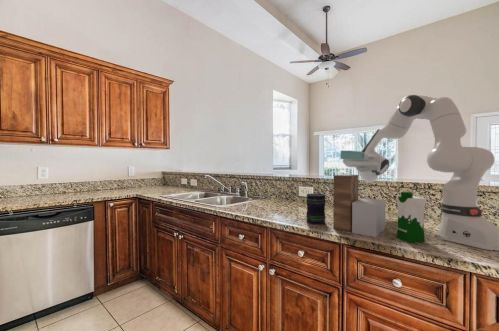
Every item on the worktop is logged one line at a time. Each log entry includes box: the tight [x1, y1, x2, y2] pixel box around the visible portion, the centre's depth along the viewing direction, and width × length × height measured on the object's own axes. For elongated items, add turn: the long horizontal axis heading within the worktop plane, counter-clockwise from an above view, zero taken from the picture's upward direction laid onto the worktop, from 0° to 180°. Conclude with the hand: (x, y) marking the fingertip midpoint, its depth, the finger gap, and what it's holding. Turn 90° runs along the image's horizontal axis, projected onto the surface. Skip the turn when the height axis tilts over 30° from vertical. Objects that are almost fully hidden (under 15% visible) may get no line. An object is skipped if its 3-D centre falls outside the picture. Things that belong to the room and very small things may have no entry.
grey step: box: [351, 197, 386, 238], centre depth 114 cm, size 18×10×14 cm, turn 140°
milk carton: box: [395, 191, 428, 244], centre depth 100 cm, size 9×9×20 cm
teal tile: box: [340, 150, 364, 160], centre depth 127 cm, size 26×4×4 cm, turn 140°
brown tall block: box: [332, 173, 359, 233], centre depth 119 cm, size 12×8×26 cm, turn 140°
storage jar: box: [305, 192, 326, 226], centre depth 129 cm, size 10×10×15 cm
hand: (358, 154), depth 134 cm, fingers closed on teal tile, 4 cm apart
